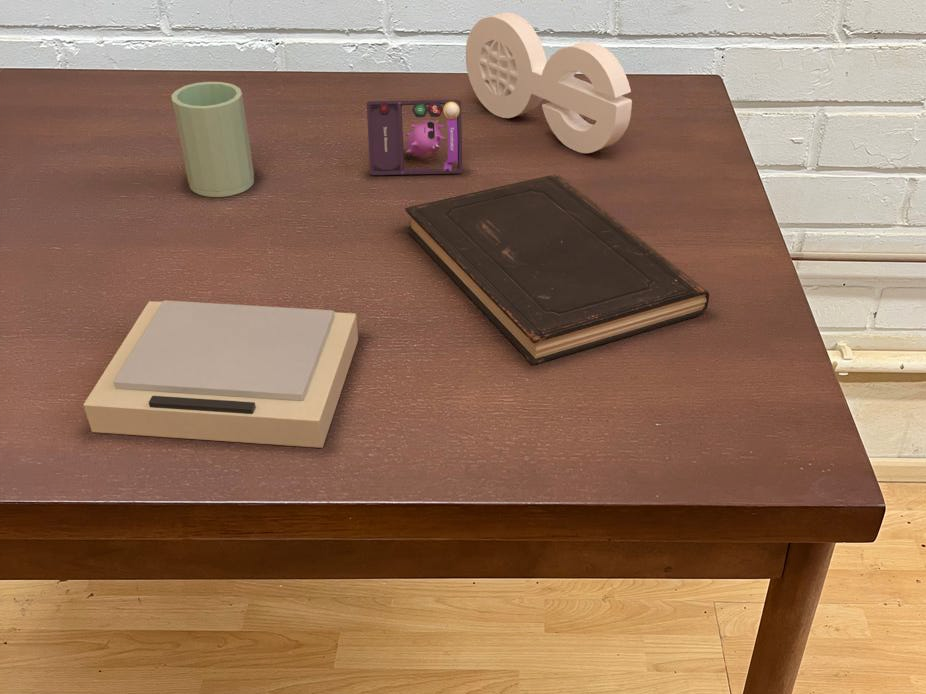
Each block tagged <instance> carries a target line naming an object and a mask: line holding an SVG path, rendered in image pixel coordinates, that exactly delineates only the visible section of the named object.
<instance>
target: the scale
mask: <svg viewBox="0 0 926 694" xmlns="http://www.w3.org/2000/svg"><path fill="white" fill-rule="evenodd" d="M357 319H358V318H357V313H356V312H355V313H353V312H352V313H351V312H337V311H336V312H335V310H332V309H316V308H301V307H299V308H298V307H284V306H283V307H282V306H267V305H266V306H264V305H250V304H233V303H232V304H231V303H215V302H197V301H184V300H183V301H181V300H162V301H153V300H150V301H148V302H147V304H146V305H145V306H144V309H143V310H142V311H141V313H140V315H139V316H138V318H137V319H136V321H135V323H134V324H133V326H132V327H131V329H130V330H129V332H128V333H127V334H126V337H125V338H124V340H123V342H122V343H121V344H120V346H119V348H118V349H117V351H116V352H115V354H114V356H113V357H112V359H111V361H110V362H109V363H108V365H107V366H106V368H105V370H104V371H103V373H102V374H101V376H100V377H99V378H98V381H97V382H96V384H95V385H94V387H93V389H92V390H91V391H90V393H89V394H88V396H87V398H86V400H85V401H84V403H83V409H84V412H85V415H86V418H87V421H88V425H89V427H90V431H91V433H101V434H112V435H113V434H115V435H128V436H129V435H130V436H140V437H141V436H142V437H143V436H144V437H158V438H172V439H184V440H185V439H188V440H200V441H201V440H202V441H214V442H215V441H216V442H230V443H243V444H258V445H259V444H260V445H271V446H272V445H273V446H287V447H288V446H290V447H303V448H314V449H315V448H317V449H318V448H319V449H322V448H324V445H325V442H326V440H327V436H328V433H329V430H330V427H331V424H332V421H333V418H334V415H335V413H336V409H337V406H338V402H339V400H340V397H341V394H342V390H343V388H344V385H345V382H346V378H347V376H348V373H349V369H350V367H351V363H352V361H353V357H354V354H355V351H356V348H357V345H358V342H359V332H358V320H357Z"/></svg>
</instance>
